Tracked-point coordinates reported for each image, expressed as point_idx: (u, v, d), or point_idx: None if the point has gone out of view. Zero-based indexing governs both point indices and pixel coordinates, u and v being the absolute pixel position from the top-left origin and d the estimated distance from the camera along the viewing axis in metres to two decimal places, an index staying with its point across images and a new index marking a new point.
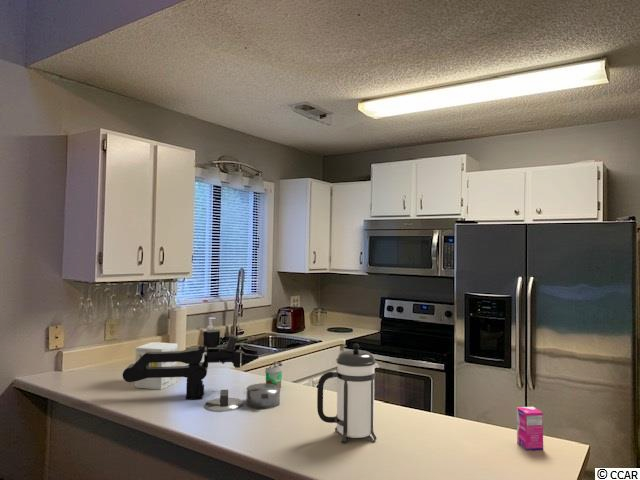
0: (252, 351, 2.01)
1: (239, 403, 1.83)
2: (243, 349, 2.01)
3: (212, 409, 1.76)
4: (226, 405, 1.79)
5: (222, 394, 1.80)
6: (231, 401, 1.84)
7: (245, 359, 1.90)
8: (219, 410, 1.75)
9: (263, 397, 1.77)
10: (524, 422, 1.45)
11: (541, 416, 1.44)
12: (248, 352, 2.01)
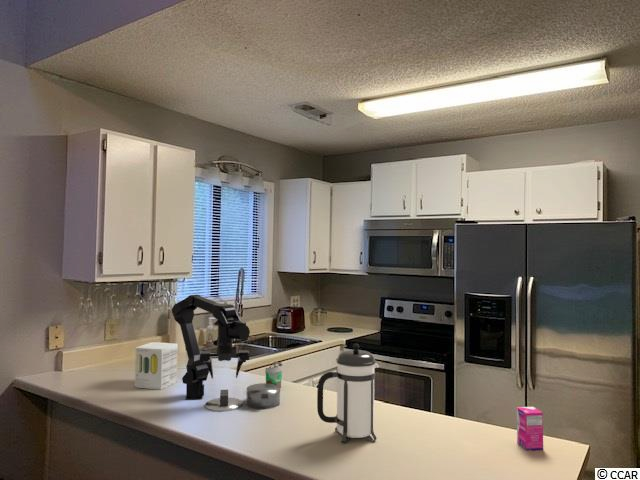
0: (236, 372, 1.83)
1: (239, 403, 1.83)
2: (237, 363, 1.83)
3: (212, 409, 1.76)
4: (226, 405, 1.79)
5: (222, 394, 1.80)
6: (231, 401, 1.84)
7: None
8: (219, 410, 1.75)
9: (263, 397, 1.77)
10: (524, 422, 1.45)
11: (541, 416, 1.44)
12: None
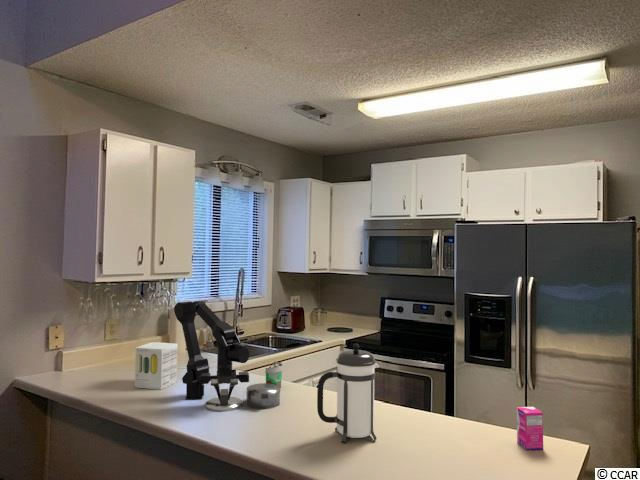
0: (228, 394, 1.82)
1: (239, 402, 1.83)
2: None
3: (212, 408, 1.76)
4: (226, 404, 1.79)
5: (222, 393, 1.80)
6: (231, 401, 1.84)
7: None
8: (219, 409, 1.76)
9: (263, 397, 1.77)
10: (524, 422, 1.45)
11: (541, 416, 1.44)
12: (229, 390, 1.83)
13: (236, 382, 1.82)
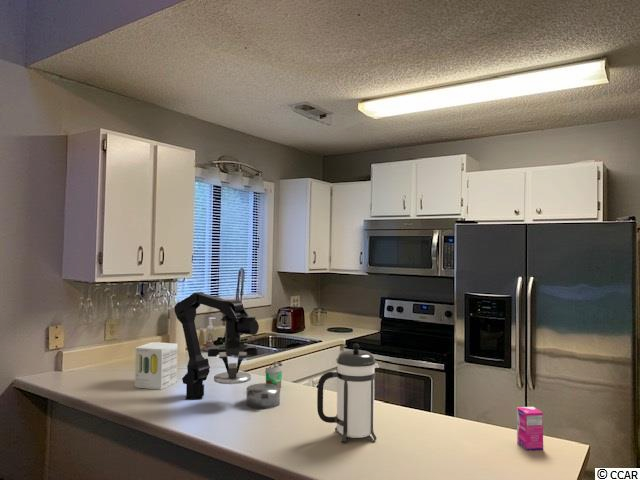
0: None
1: (247, 376, 1.83)
2: (238, 358, 1.82)
3: (221, 381, 1.77)
4: (234, 377, 1.79)
5: (230, 367, 1.81)
6: (240, 375, 1.85)
7: None
8: (227, 382, 1.76)
9: (263, 397, 1.77)
10: (524, 422, 1.45)
11: (541, 416, 1.44)
12: (237, 363, 1.84)
13: (244, 355, 1.83)
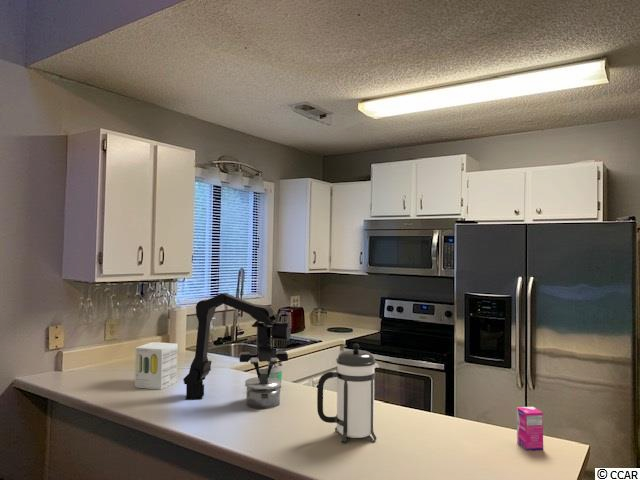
0: None
1: (278, 381, 1.86)
2: (269, 364, 1.85)
3: (253, 386, 1.79)
4: (266, 383, 1.82)
5: (262, 372, 1.83)
6: (270, 380, 1.87)
7: None
8: (260, 387, 1.78)
9: (263, 397, 1.77)
10: (524, 422, 1.45)
11: (541, 416, 1.44)
12: None
13: (275, 361, 1.85)
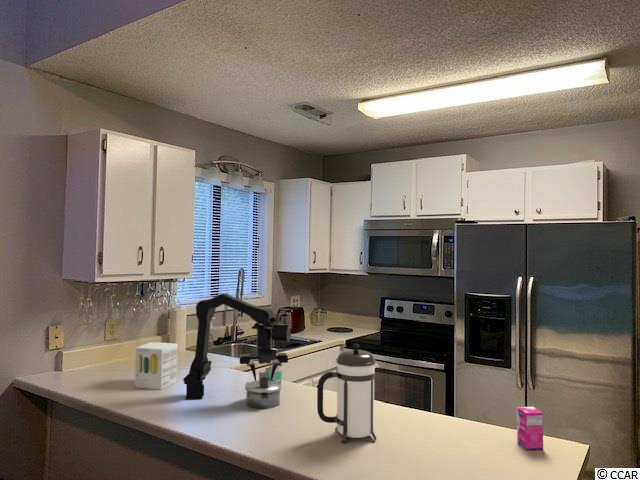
0: (271, 375, 1.86)
1: (278, 385, 1.85)
2: (272, 365, 1.85)
3: (253, 390, 1.79)
4: (266, 386, 1.82)
5: (262, 376, 1.83)
6: (270, 383, 1.87)
7: None
8: (260, 391, 1.78)
9: (263, 397, 1.77)
10: (524, 422, 1.45)
11: (541, 416, 1.44)
12: (271, 370, 1.86)
13: (279, 362, 1.85)
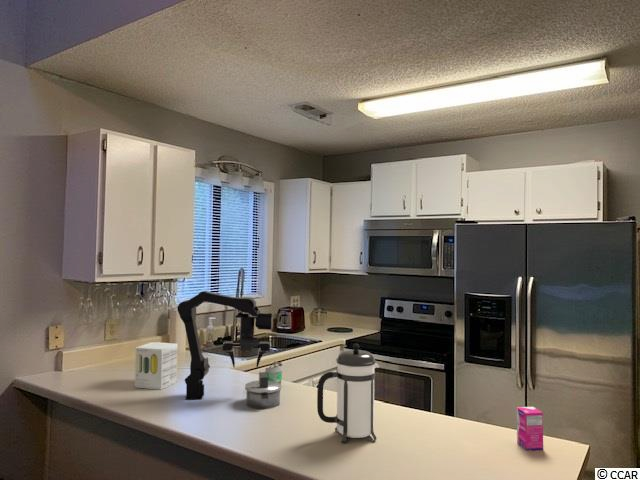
0: None
1: (278, 385, 1.85)
2: (258, 353, 1.91)
3: (253, 390, 1.79)
4: (266, 387, 1.82)
5: (262, 376, 1.83)
6: (270, 383, 1.87)
7: None
8: (260, 391, 1.78)
9: (263, 397, 1.77)
10: (524, 422, 1.45)
11: (541, 416, 1.44)
12: (257, 358, 1.93)
13: None
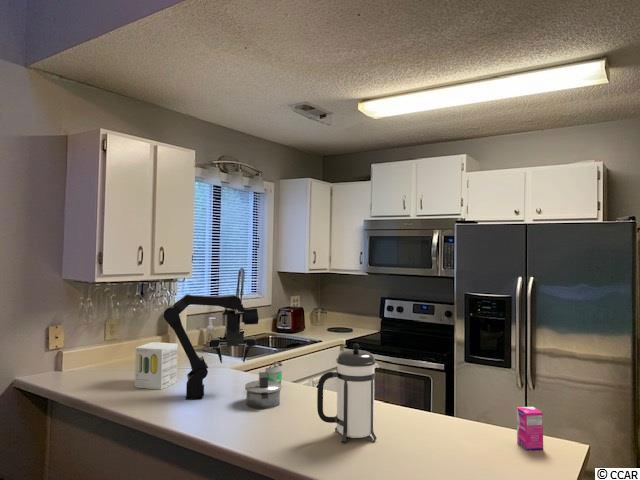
0: (243, 357, 1.98)
1: (278, 385, 1.85)
2: None
3: (253, 390, 1.79)
4: (266, 387, 1.82)
5: (262, 376, 1.83)
6: (270, 383, 1.87)
7: None
8: (260, 391, 1.78)
9: (263, 397, 1.77)
10: (524, 422, 1.45)
11: (541, 416, 1.44)
12: (244, 353, 1.98)
13: None
